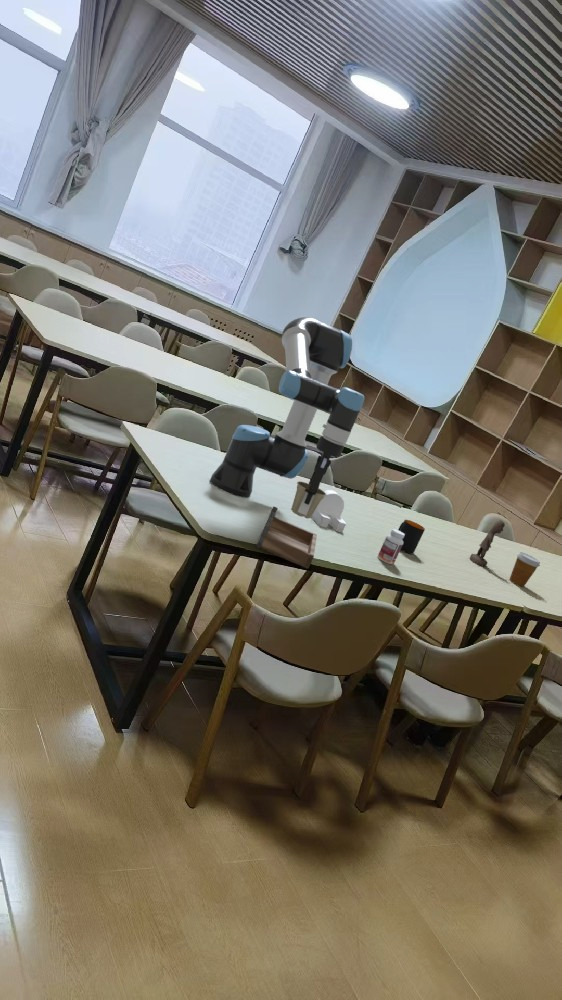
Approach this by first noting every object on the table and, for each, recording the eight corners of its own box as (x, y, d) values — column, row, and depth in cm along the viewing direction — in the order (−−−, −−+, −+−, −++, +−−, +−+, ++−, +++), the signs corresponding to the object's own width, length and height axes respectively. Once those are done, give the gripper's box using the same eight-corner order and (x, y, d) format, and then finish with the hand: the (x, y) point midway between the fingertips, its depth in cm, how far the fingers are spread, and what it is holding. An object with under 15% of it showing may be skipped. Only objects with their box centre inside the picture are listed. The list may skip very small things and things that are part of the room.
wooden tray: (264, 525, 240) (273, 506, 238) (312, 545, 240) (320, 526, 238) (255, 546, 215) (265, 525, 214) (308, 569, 215) (317, 547, 214)
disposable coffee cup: (502, 575, 312) (515, 549, 310) (522, 582, 314) (535, 557, 311) (510, 583, 303) (524, 557, 300) (531, 591, 305) (545, 565, 302)
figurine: (489, 569, 313) (511, 526, 309) (473, 563, 311) (495, 520, 307) (480, 560, 322) (501, 518, 317) (465, 555, 320) (486, 513, 315)
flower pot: (315, 516, 230) (327, 491, 228) (314, 524, 220) (326, 497, 219) (287, 504, 230) (298, 479, 228) (284, 511, 220) (296, 484, 218)
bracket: (343, 533, 272) (355, 505, 269) (318, 526, 268) (331, 497, 265) (326, 514, 289) (337, 487, 286) (302, 507, 285) (314, 480, 282)
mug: (402, 543, 294) (413, 519, 292) (417, 556, 284) (429, 531, 281) (384, 537, 291) (396, 513, 288) (399, 551, 280) (411, 526, 278)
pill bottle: (387, 558, 263) (400, 530, 261) (397, 566, 258) (410, 537, 255) (373, 554, 260) (387, 526, 257) (383, 563, 255) (396, 533, 252)
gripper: (322, 430, 230) (293, 497, 235) (319, 440, 209) (288, 512, 214) (344, 440, 230) (315, 506, 235) (344, 450, 209) (313, 523, 214)
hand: (302, 509), depth 225 cm, fingers closed on flower pot, 9 cm apart
